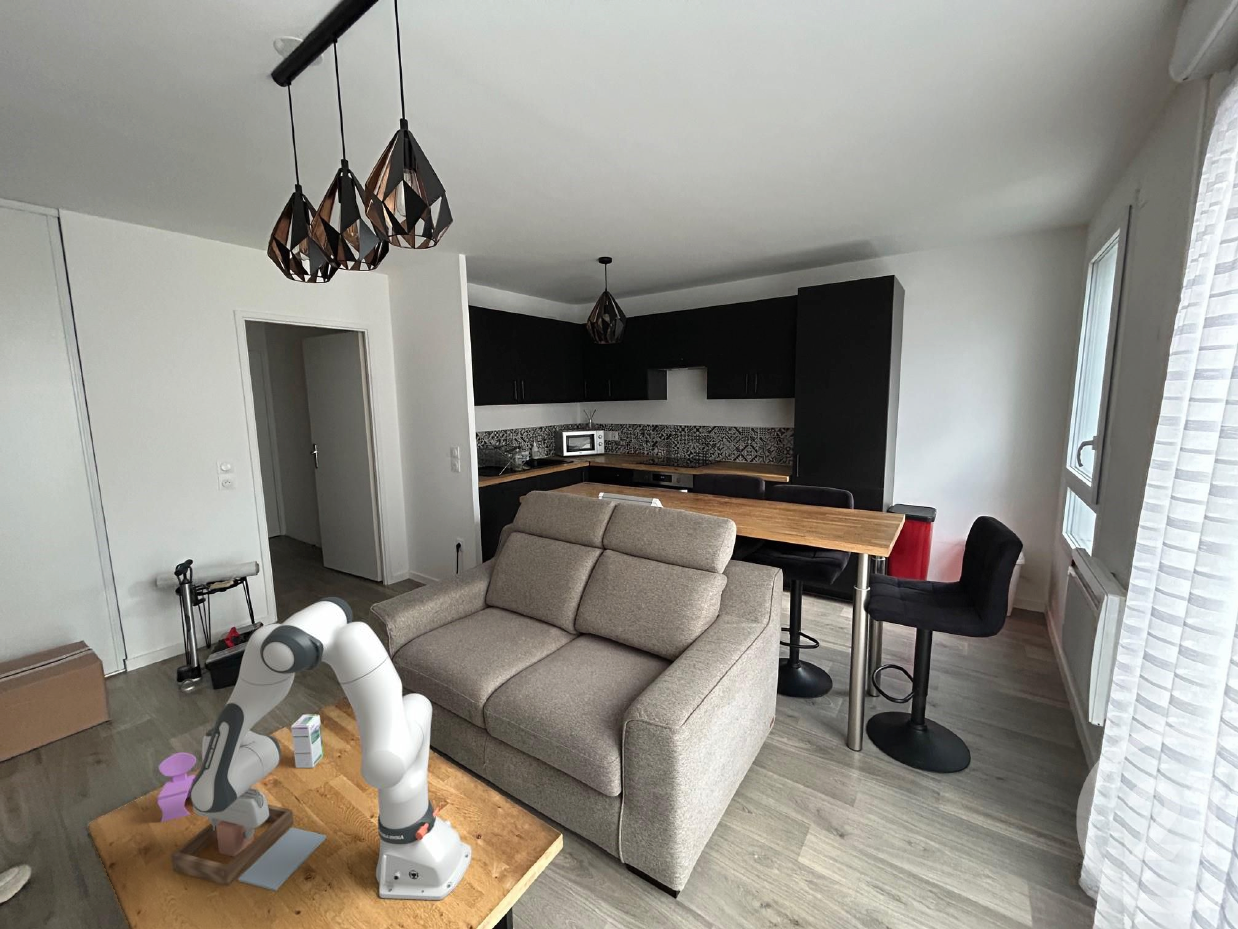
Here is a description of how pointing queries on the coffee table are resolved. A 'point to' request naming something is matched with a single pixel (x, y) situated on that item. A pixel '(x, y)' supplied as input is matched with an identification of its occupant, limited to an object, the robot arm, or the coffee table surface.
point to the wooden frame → (228, 873)
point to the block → (231, 838)
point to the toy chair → (176, 785)
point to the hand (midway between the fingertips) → (233, 833)
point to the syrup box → (307, 741)
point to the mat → (282, 859)
